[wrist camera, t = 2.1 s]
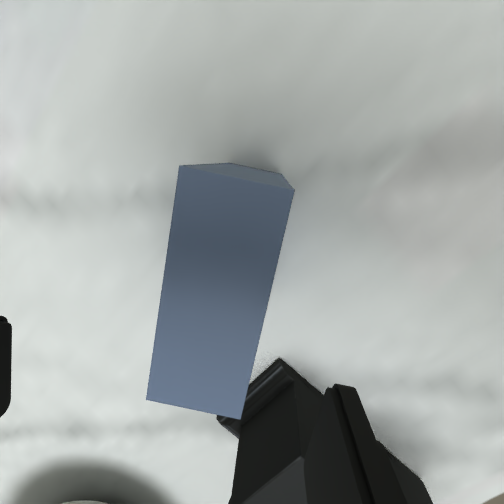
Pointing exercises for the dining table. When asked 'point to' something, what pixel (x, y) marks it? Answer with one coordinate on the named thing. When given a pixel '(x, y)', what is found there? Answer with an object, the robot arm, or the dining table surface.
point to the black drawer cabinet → (285, 441)
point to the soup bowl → (84, 502)
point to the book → (217, 285)
